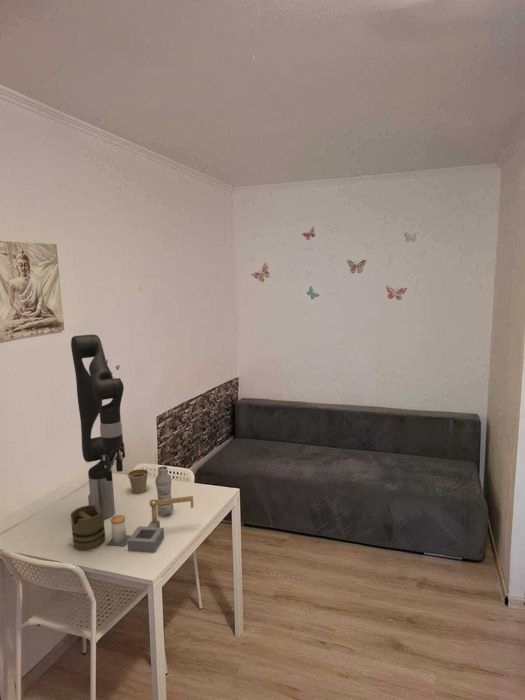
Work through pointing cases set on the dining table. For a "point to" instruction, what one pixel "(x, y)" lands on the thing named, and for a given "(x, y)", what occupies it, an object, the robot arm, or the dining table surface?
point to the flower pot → (138, 480)
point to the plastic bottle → (164, 491)
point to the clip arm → (172, 501)
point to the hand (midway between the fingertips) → (114, 475)
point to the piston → (87, 528)
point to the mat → (118, 543)
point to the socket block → (147, 536)
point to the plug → (118, 529)
